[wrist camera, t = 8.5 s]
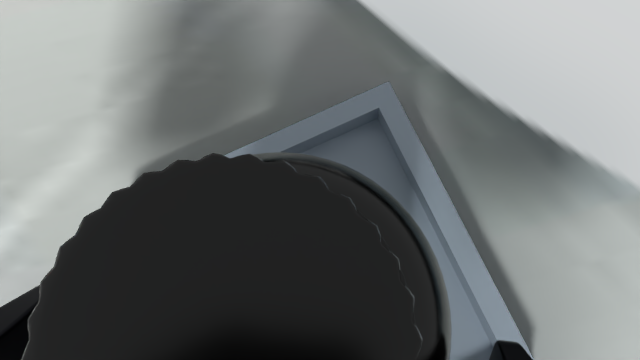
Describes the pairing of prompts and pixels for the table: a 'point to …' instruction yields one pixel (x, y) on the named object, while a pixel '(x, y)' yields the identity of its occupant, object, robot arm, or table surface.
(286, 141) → the tray
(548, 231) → the table surface
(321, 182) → the supplement bottle
